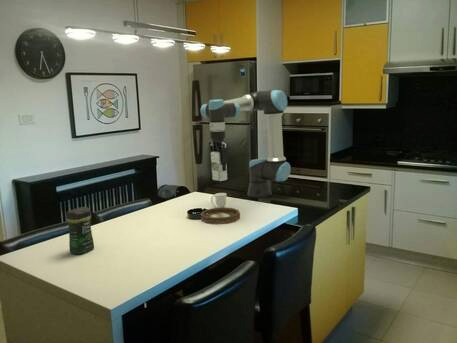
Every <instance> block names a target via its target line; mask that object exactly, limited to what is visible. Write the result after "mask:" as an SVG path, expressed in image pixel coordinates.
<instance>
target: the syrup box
mask: <svg viewBox="0 0 457 343" xmlns="http://www.w3.org/2000/svg"><path fill="white" fill-rule="evenodd" d="M210 162H211V178H212V179H211V180H212V181H216V182H222V181H223V182H224V181H226V180H228V168H227V165H226V177H222V178H221V170H220V164H221V160H220V153H219V152H218V151H216V152H211V161H210Z"/></svg>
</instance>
